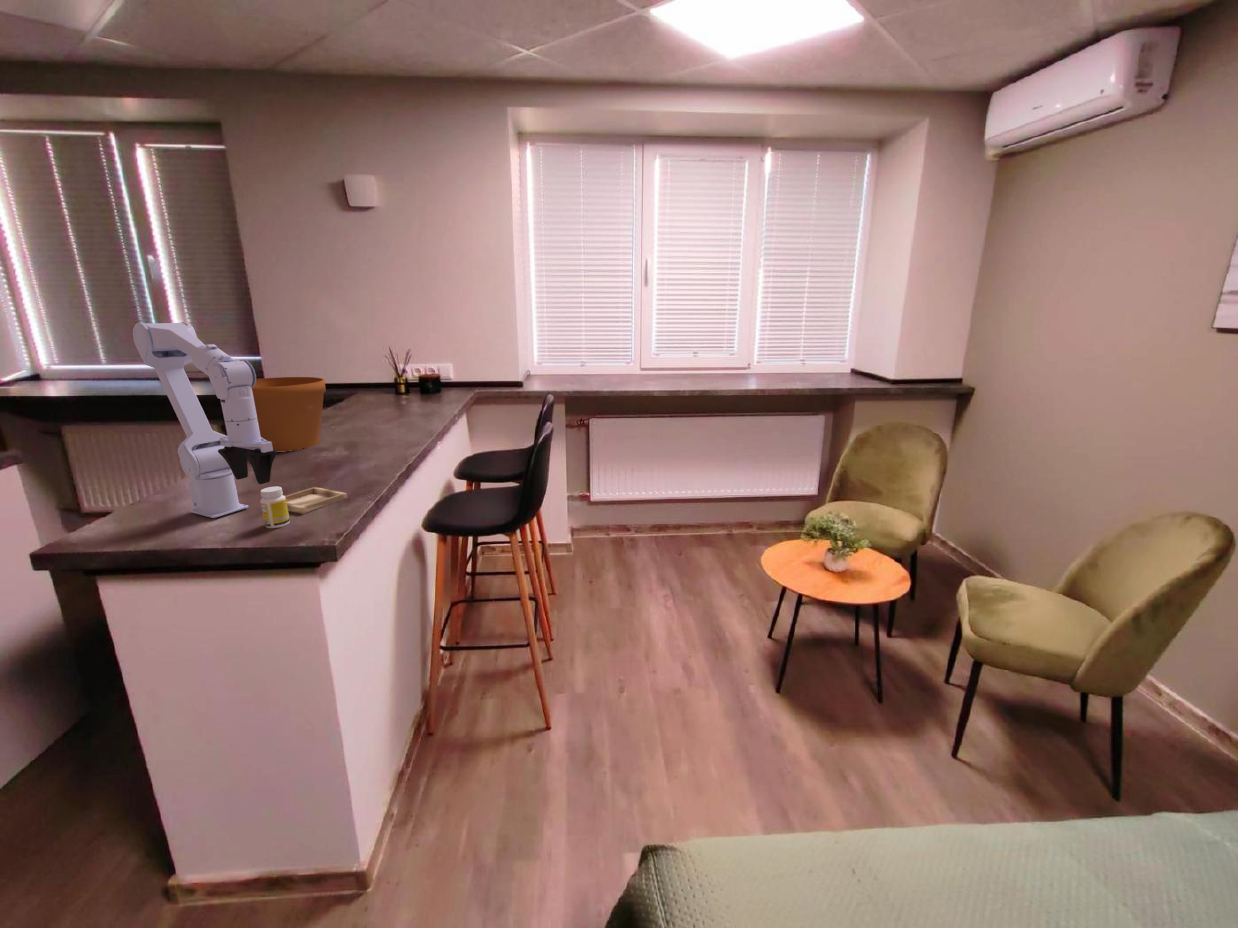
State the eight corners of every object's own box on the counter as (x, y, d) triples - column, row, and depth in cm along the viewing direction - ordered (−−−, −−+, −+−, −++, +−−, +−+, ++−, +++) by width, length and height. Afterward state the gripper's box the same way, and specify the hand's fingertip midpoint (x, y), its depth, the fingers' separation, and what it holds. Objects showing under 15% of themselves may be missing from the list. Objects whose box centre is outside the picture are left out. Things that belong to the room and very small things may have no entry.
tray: (270, 507, 130) (269, 500, 130) (315, 493, 141) (314, 486, 140) (303, 515, 125) (302, 508, 125) (347, 499, 136) (346, 493, 135)
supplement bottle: (294, 520, 123) (288, 485, 120) (284, 528, 118) (277, 492, 116) (271, 521, 122) (265, 486, 120) (260, 529, 118) (253, 492, 115)
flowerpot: (291, 464, 167) (279, 388, 161) (216, 459, 173) (201, 386, 166) (351, 443, 194) (343, 378, 187) (285, 439, 199) (274, 376, 193)
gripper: (199, 419, 113) (213, 481, 116) (243, 425, 107) (255, 490, 111) (234, 414, 119) (246, 472, 123) (277, 419, 113) (288, 480, 117)
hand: (252, 480), depth 117 cm, fingers open, 7 cm apart
